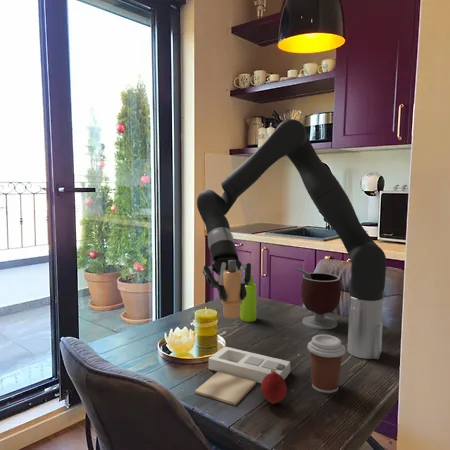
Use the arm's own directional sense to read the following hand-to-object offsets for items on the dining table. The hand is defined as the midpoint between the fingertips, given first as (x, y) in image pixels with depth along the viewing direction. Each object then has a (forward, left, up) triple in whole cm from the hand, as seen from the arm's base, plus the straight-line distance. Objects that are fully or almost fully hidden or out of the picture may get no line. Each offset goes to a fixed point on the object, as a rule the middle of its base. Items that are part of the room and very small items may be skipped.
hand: (234, 298), depth 102 cm
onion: (-15, +9, -20) cm, 27 cm away
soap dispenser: (+15, -38, -20) cm, 46 cm away
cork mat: (-2, +9, -20) cm, 22 cm away
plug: (+1, -1, -5) cm, 6 cm away
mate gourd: (-9, -47, -20) cm, 52 cm away
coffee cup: (-23, -4, -20) cm, 31 cm away
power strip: (-3, -2, -20) cm, 20 cm away
